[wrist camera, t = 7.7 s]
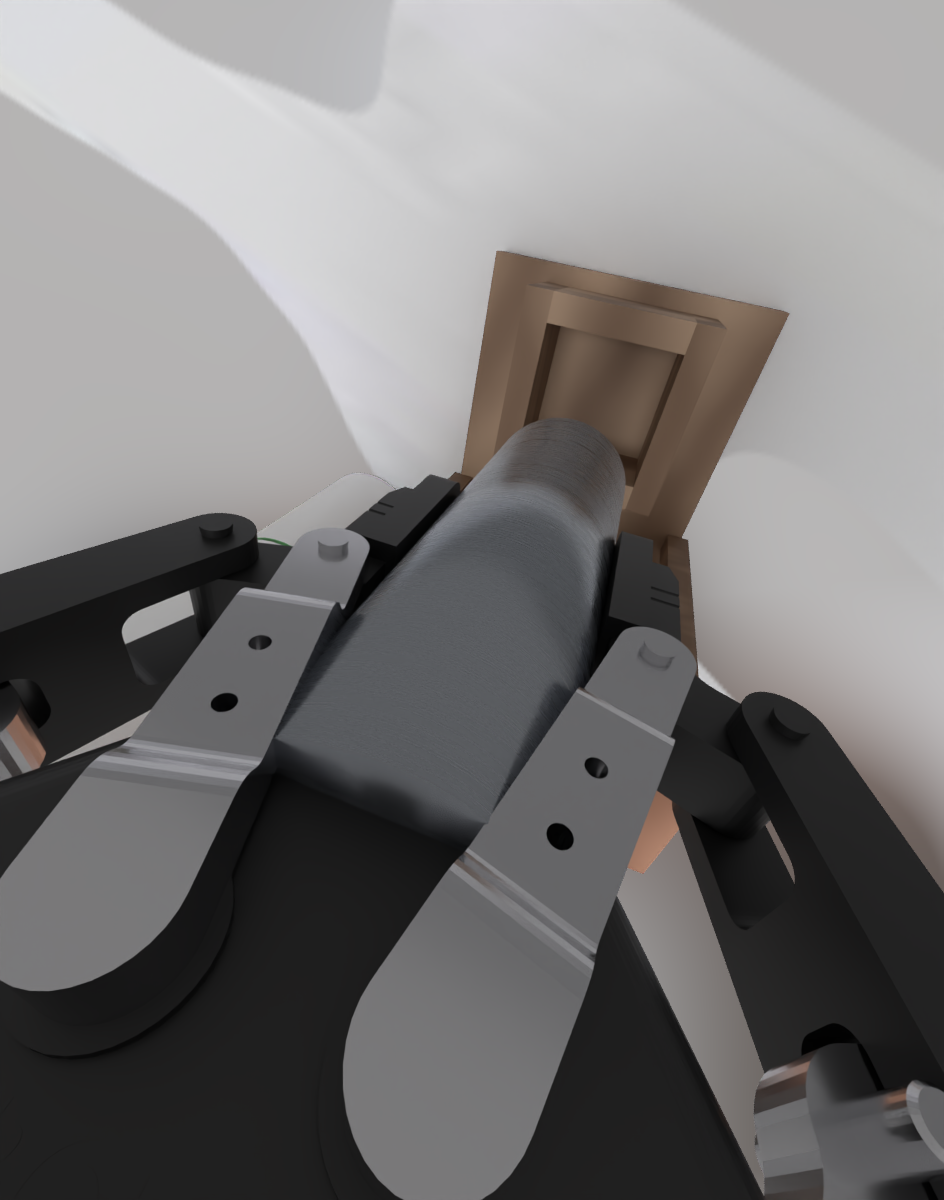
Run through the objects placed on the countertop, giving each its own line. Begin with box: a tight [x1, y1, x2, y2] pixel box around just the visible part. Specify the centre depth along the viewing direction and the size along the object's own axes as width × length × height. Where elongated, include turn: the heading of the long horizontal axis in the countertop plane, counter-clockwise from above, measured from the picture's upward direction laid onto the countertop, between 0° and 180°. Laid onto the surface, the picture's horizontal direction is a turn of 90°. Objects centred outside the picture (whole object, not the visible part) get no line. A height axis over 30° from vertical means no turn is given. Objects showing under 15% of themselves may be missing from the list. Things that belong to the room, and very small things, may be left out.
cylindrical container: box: [51, 473, 395, 764], centre depth 28 cm, size 7×7×25 cm
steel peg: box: [273, 418, 625, 852], centre depth 10 cm, size 4×4×12 cm
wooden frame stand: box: [448, 251, 789, 874], centre depth 22 cm, size 15×18×19 cm
